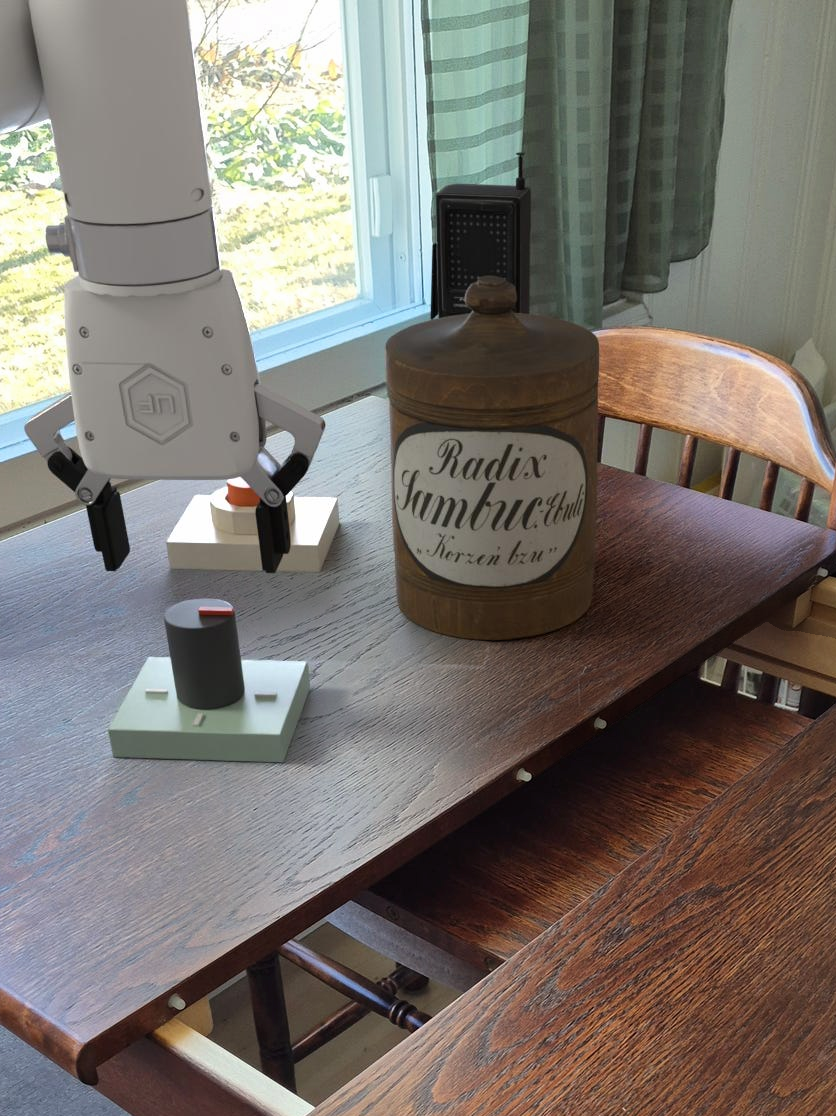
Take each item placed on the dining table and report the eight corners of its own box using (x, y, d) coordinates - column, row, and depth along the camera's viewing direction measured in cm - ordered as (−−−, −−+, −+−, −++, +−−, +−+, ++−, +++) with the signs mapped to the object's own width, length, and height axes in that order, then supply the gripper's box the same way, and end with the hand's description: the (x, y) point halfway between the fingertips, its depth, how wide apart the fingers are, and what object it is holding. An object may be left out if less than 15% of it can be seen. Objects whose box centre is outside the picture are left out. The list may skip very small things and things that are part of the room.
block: (169, 569, 113) (161, 519, 110) (198, 520, 120) (191, 472, 118) (320, 572, 112) (315, 522, 109) (339, 523, 120) (336, 475, 117)
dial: (169, 708, 91) (154, 622, 88) (185, 676, 95) (172, 592, 91) (237, 710, 91) (225, 624, 87) (251, 678, 94) (240, 594, 91)
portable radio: (428, 491, 125) (416, 160, 108) (446, 467, 129) (437, 145, 113) (516, 498, 123) (518, 163, 107) (531, 473, 128) (534, 148, 111)
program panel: (112, 757, 91) (106, 727, 89) (152, 683, 98) (147, 654, 97) (283, 763, 90) (280, 732, 89) (310, 688, 98) (307, 658, 96)
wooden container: (386, 641, 103) (367, 308, 88) (406, 557, 114) (392, 249, 100) (592, 644, 102) (607, 309, 88) (593, 560, 113) (606, 250, 99)
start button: (225, 509, 113) (222, 487, 111) (234, 492, 115) (231, 470, 114) (270, 510, 112) (267, 488, 111) (278, 493, 115) (276, 471, 114)
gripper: (-36, 267, 74) (38, 587, 85) (295, 266, 72) (326, 591, 84) (11, 234, 79) (75, 538, 91) (319, 232, 78) (345, 541, 89)
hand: (195, 563), depth 87 cm, fingers open, 9 cm apart
